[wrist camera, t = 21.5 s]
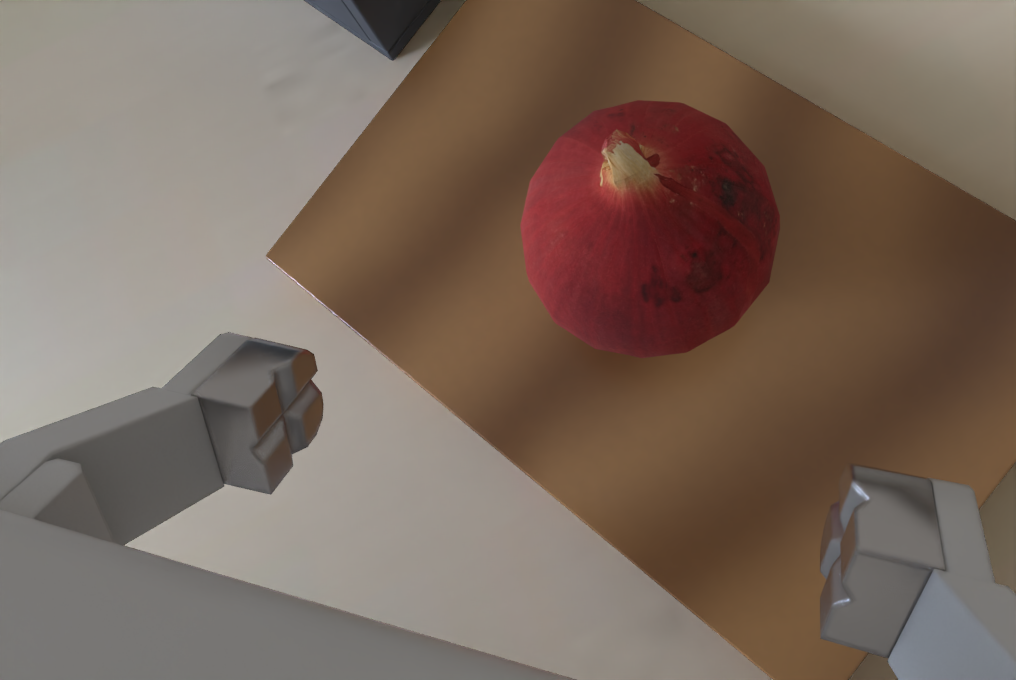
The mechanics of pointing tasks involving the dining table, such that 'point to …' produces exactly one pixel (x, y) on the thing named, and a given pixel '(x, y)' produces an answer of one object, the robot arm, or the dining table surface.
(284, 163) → the dining table surface
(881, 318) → the cutting board
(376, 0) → the tub
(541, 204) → the red pomegranate
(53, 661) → the robot arm
